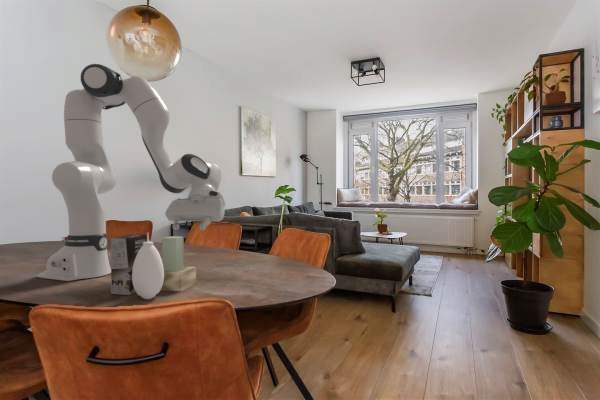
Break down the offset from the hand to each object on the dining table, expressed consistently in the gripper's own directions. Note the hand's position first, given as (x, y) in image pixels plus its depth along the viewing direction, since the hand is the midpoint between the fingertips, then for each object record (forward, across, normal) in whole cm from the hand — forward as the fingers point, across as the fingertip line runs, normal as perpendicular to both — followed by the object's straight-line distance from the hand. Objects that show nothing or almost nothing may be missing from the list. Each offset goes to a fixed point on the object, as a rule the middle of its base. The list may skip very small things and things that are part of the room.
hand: (188, 228), depth 117 cm
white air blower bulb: (+28, 0, -4) cm, 28 cm away
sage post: (+15, 0, +1) cm, 15 cm away
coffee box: (+23, -10, 0) cm, 25 cm away
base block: (+19, 0, +5) cm, 19 cm away
